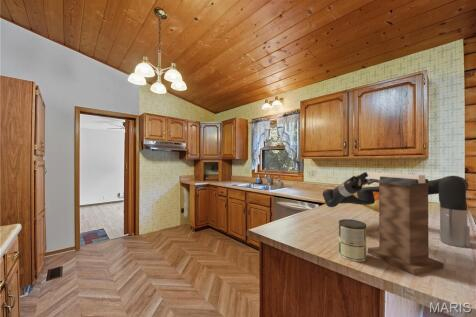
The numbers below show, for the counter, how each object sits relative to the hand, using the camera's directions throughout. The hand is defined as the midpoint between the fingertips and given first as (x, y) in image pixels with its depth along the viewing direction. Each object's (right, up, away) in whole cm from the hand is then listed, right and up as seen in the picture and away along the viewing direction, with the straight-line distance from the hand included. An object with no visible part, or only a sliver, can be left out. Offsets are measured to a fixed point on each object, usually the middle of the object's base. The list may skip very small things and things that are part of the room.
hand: (373, 173), depth 95 cm
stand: (+3, -34, -13) cm, 37 cm away
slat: (+2, -2, -7) cm, 8 cm away
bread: (+56, -36, +79) cm, 103 cm away
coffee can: (-15, -34, -9) cm, 39 cm away
